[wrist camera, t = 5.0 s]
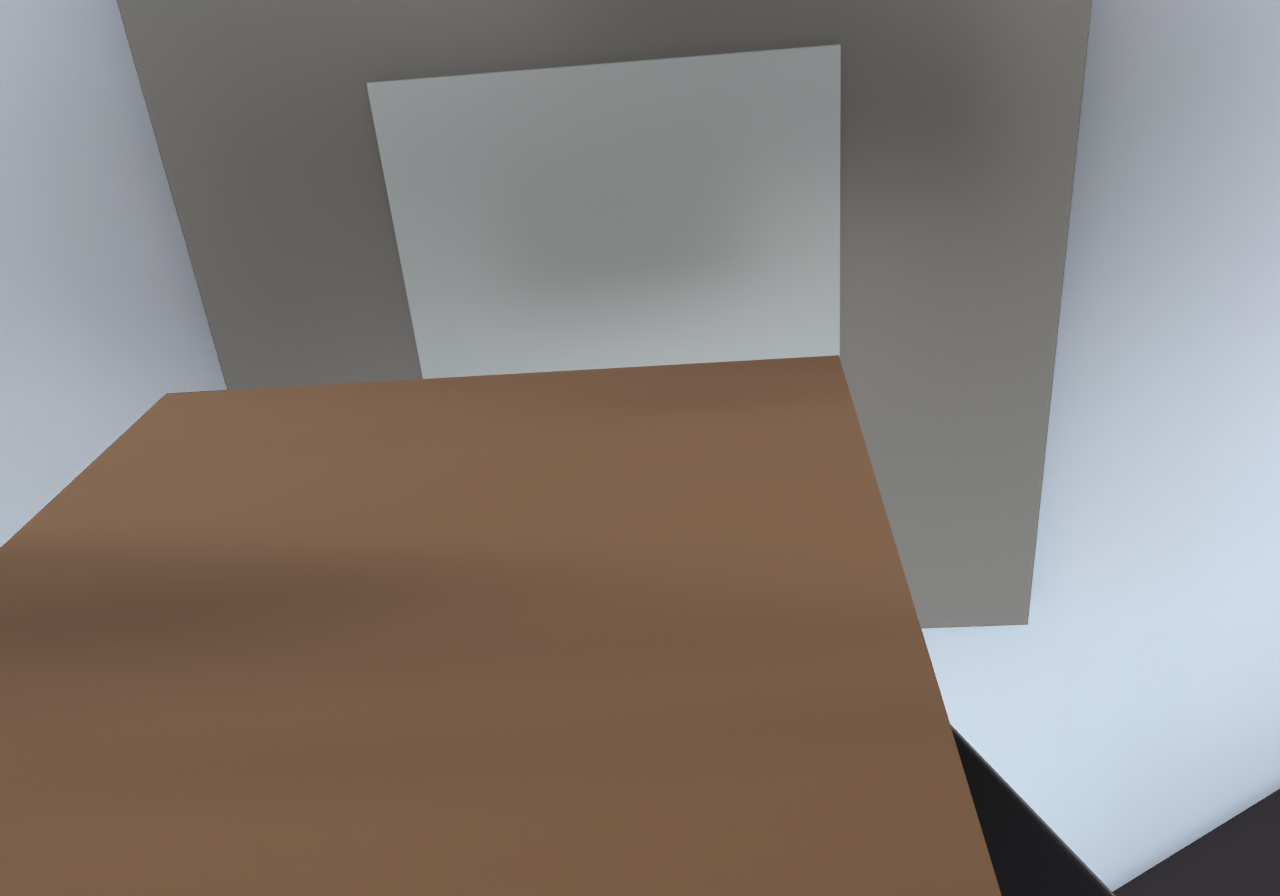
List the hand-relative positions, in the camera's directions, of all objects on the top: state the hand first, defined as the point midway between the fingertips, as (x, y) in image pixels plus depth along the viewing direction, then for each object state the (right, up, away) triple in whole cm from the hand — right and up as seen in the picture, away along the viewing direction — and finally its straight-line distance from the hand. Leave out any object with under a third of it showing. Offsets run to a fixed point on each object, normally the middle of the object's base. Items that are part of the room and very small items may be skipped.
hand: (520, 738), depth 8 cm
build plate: (+1, +5, +10) cm, 11 cm away
